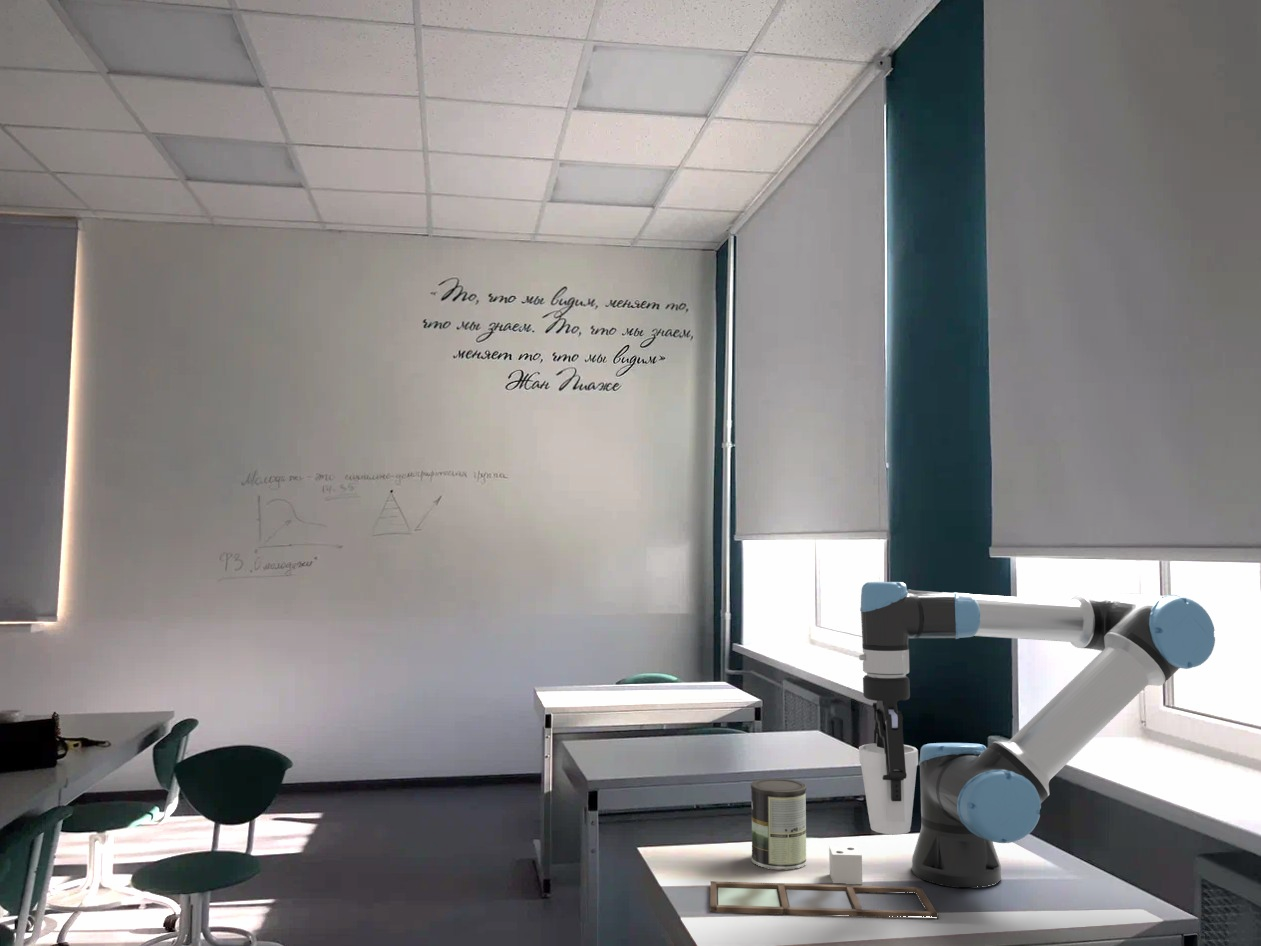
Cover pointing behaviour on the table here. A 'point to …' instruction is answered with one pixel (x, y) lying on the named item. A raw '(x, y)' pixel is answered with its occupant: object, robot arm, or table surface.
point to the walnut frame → (805, 899)
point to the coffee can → (778, 823)
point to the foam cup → (876, 787)
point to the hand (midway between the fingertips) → (889, 812)
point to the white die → (845, 865)
